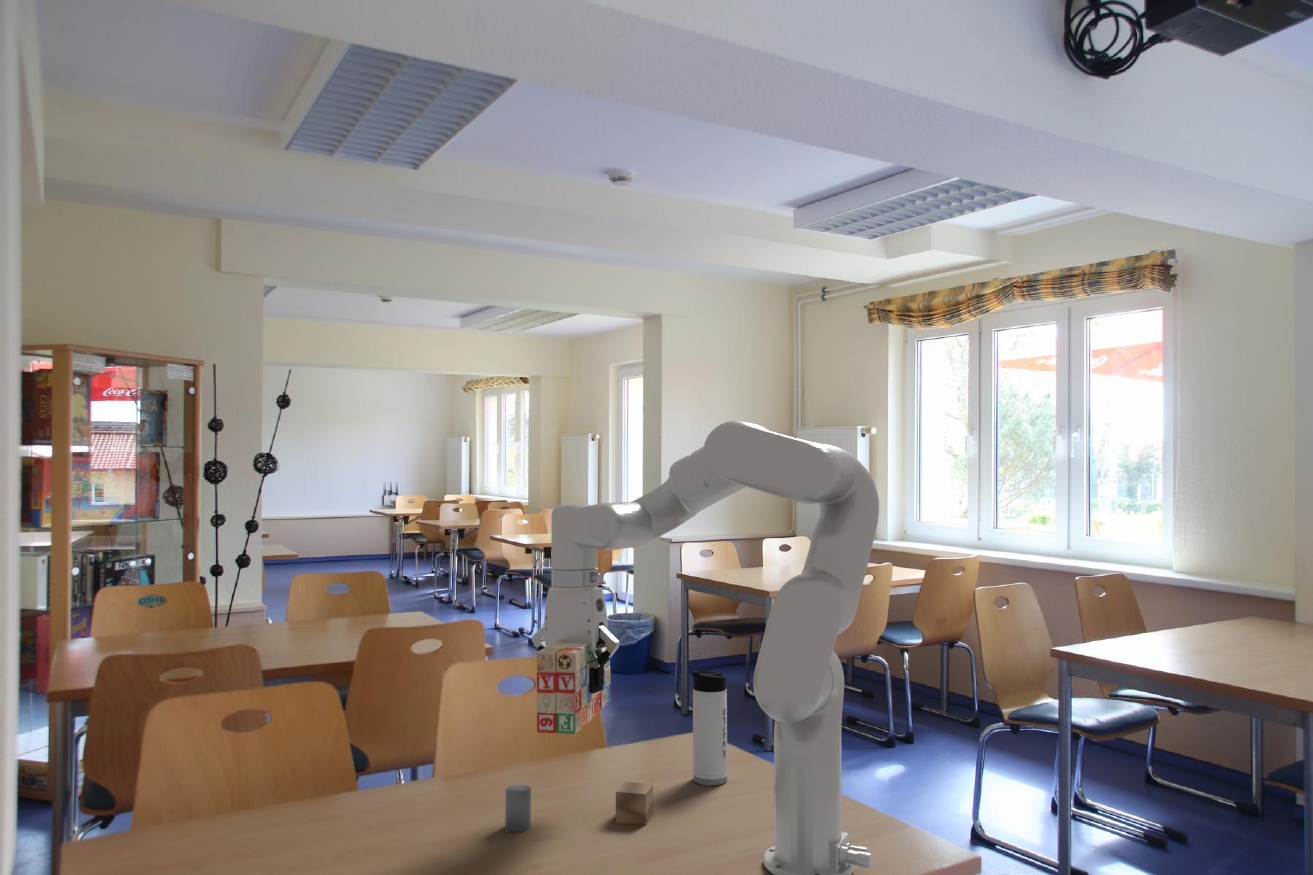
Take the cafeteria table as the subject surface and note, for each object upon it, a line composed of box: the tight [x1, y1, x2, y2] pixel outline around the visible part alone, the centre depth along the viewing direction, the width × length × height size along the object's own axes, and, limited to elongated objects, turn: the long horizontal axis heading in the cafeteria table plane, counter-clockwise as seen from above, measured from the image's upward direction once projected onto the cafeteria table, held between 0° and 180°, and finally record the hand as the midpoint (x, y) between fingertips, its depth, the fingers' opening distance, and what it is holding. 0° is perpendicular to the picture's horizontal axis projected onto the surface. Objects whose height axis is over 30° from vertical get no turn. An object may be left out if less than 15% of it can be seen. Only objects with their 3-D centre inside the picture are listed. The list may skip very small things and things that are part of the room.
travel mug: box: [690, 670, 728, 787], centre depth 165 cm, size 6×7×20 cm
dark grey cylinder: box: [504, 784, 532, 834], centre depth 142 cm, size 4×4×6 cm
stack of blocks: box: [536, 642, 611, 735], centre depth 146 cm, size 21×6×12 cm, turn 169°
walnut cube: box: [615, 781, 654, 826], centre depth 146 cm, size 5×5×5 cm
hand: (575, 688), depth 145 cm, fingers closed on stack of blocks, 7 cm apart
